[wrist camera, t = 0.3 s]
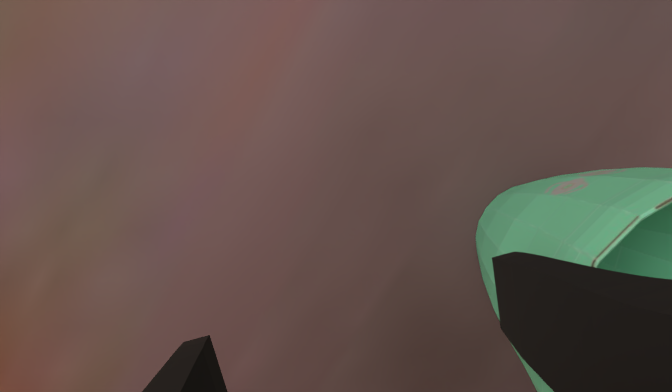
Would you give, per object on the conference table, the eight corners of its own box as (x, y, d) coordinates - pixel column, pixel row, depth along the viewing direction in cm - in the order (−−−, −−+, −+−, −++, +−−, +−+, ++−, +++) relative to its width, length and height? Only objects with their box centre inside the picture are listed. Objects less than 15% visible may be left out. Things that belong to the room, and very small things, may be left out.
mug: (422, 335, 24) (538, 511, 14) (427, 134, 22) (572, 185, 12) (682, 306, 26) (930, 440, 17) (714, 122, 24) (1025, 157, 14)
